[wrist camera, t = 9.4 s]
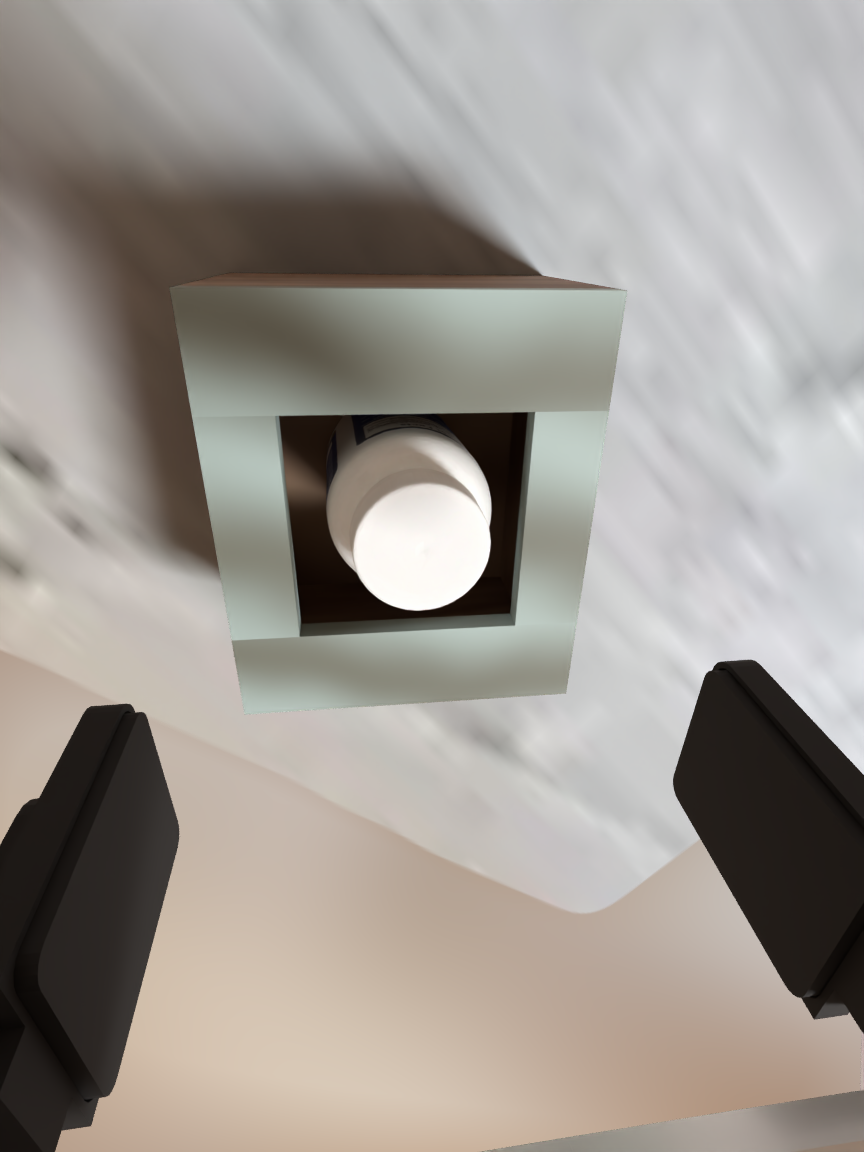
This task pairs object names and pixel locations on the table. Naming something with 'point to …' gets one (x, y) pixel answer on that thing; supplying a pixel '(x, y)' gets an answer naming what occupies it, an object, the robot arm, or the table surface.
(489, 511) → the pill bottle
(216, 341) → the box
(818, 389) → the table surface
